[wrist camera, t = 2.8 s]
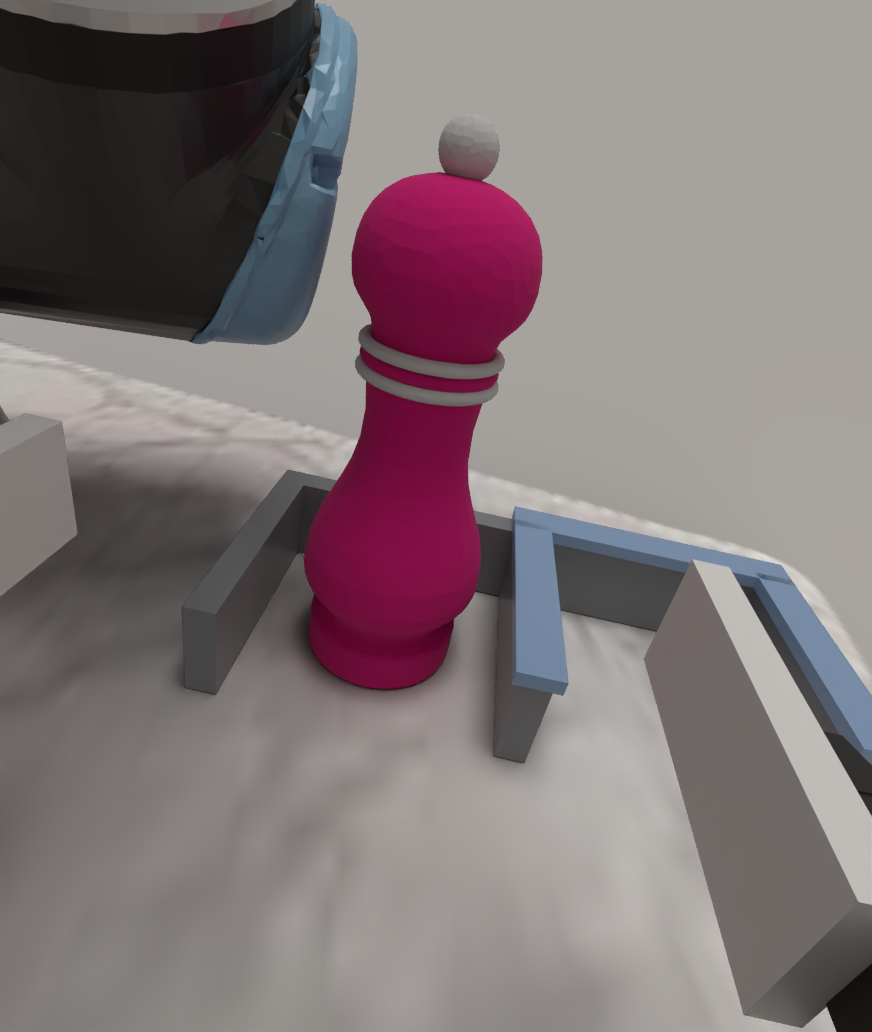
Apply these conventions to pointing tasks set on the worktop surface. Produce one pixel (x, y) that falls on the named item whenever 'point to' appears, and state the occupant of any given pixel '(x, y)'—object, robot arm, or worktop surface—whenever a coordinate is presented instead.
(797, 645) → the divider rack
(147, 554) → the worktop surface
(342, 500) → the pepper mill
